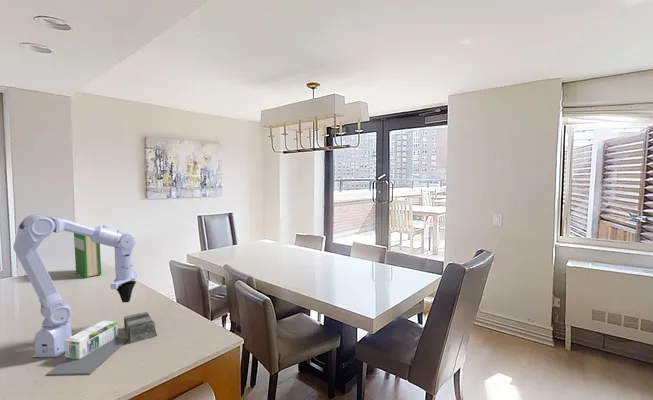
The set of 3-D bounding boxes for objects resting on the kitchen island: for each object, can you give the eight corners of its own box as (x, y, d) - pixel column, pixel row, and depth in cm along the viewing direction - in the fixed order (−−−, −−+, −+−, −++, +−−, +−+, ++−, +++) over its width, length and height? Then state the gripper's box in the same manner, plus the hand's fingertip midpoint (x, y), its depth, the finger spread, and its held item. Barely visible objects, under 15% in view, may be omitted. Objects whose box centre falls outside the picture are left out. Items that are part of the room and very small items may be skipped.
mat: (90, 374, 95) (89, 373, 95) (46, 375, 95) (46, 374, 95) (129, 339, 116) (129, 338, 116) (93, 339, 115) (93, 338, 115)
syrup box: (118, 337, 116) (80, 360, 102) (103, 335, 117) (63, 357, 103) (117, 321, 116) (79, 341, 102) (103, 319, 117) (63, 339, 103)
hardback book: (101, 275, 188) (99, 233, 186) (85, 278, 182) (83, 234, 181) (91, 269, 199) (89, 229, 198) (76, 272, 194) (73, 231, 192)
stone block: (151, 322, 130) (150, 309, 129) (159, 336, 118) (159, 322, 118) (124, 328, 124) (123, 315, 124) (130, 344, 113) (129, 329, 112)
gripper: (124, 271, 117) (126, 309, 118) (145, 260, 131) (146, 294, 132) (103, 271, 116) (105, 309, 117) (126, 260, 131) (128, 294, 132)
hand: (126, 301), depth 125 cm, fingers closed
